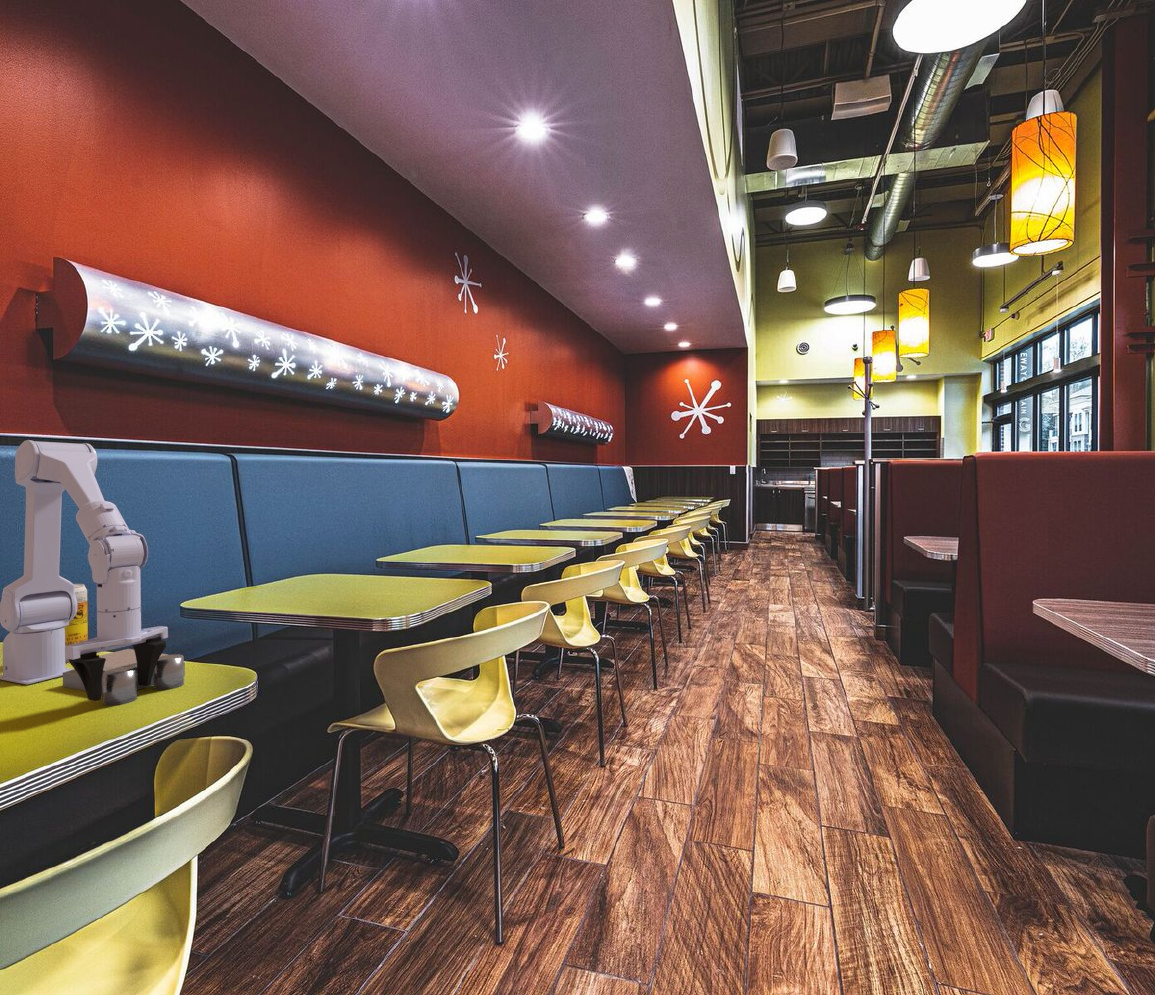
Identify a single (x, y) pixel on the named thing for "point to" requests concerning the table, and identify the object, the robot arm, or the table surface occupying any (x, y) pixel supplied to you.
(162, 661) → the cylinder
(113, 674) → the steel weight
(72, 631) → the beer can
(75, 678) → the scale base
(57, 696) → the table surface
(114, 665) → the scale pan
